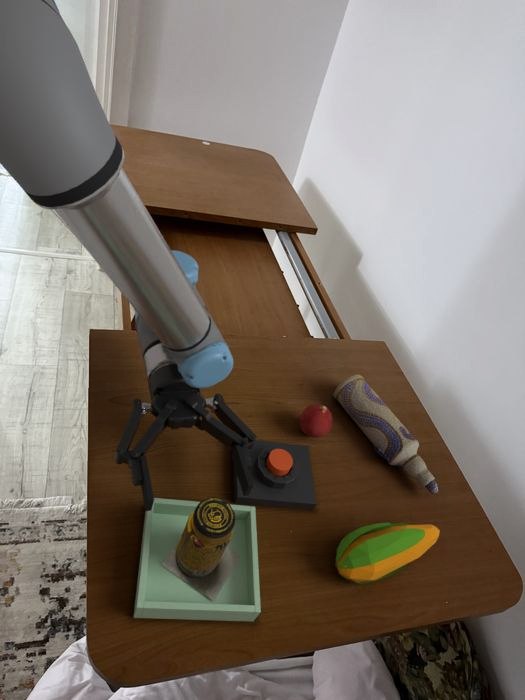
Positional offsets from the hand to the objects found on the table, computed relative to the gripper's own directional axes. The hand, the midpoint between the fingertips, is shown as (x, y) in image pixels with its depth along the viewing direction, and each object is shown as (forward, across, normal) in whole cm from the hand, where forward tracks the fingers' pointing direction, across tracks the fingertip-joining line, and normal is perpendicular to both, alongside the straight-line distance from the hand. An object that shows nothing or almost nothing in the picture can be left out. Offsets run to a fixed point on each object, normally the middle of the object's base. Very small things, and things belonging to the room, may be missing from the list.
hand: (201, 498), depth 67 cm
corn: (+9, +29, +10) cm, 32 cm away
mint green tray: (+5, 0, +10) cm, 11 cm away
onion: (-14, +26, +10) cm, 31 cm away
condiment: (+5, +1, +9) cm, 10 cm away
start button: (-7, +16, +6) cm, 18 cm away
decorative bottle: (-11, +39, +10) cm, 41 cm away
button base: (-7, +16, +10) cm, 20 cm away
